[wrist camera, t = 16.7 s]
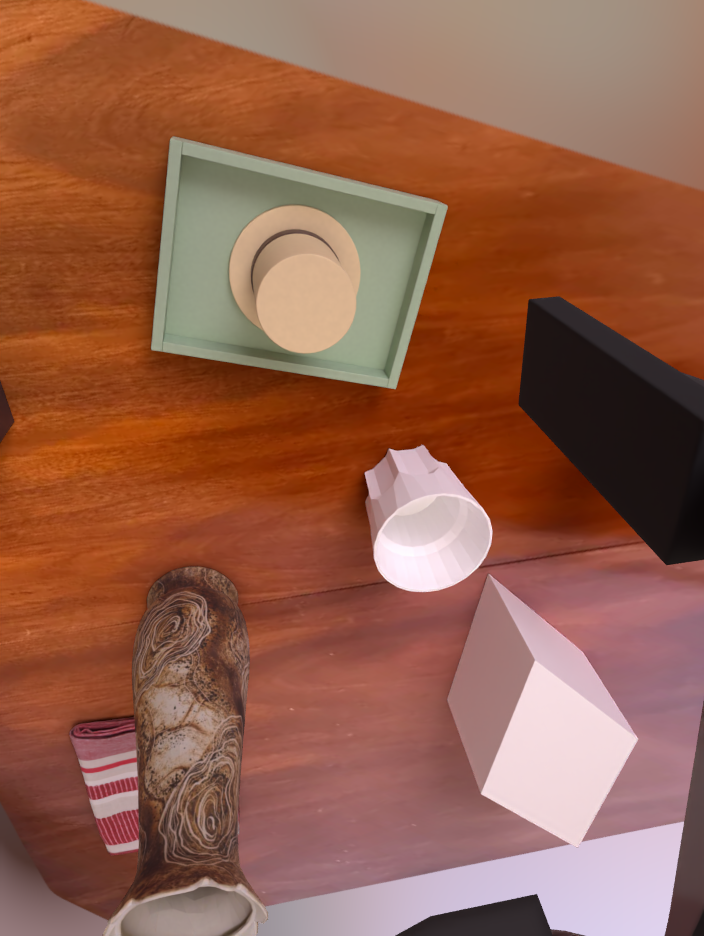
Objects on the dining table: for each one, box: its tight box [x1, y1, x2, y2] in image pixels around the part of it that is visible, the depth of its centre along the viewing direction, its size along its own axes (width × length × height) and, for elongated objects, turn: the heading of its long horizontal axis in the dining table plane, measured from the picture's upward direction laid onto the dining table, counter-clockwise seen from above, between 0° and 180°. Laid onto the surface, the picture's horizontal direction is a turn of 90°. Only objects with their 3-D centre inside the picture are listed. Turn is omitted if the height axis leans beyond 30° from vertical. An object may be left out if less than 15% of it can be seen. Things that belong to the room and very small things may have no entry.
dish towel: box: [69, 717, 239, 855], centre depth 76 cm, size 17×23×3 cm
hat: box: [229, 204, 361, 354], centre depth 46 cm, size 10×10×9 cm
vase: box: [103, 567, 268, 936], centre depth 52 cm, size 10×11×30 cm
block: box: [447, 573, 638, 847], centre depth 73 cm, size 18×35×12 cm, turn 17°
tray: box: [151, 136, 448, 389], centre depth 49 cm, size 20×15×3 cm
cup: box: [364, 445, 492, 592], centre depth 57 cm, size 10×10×10 cm
